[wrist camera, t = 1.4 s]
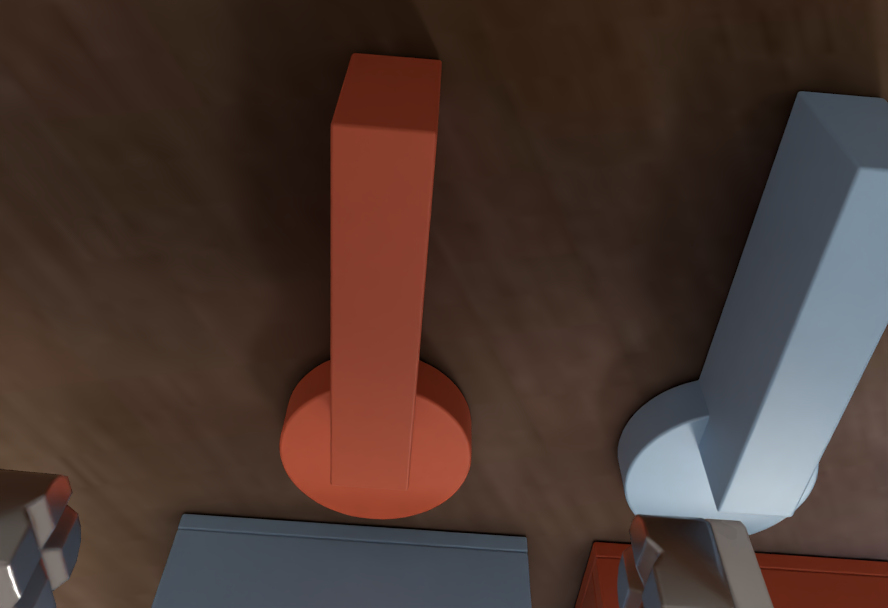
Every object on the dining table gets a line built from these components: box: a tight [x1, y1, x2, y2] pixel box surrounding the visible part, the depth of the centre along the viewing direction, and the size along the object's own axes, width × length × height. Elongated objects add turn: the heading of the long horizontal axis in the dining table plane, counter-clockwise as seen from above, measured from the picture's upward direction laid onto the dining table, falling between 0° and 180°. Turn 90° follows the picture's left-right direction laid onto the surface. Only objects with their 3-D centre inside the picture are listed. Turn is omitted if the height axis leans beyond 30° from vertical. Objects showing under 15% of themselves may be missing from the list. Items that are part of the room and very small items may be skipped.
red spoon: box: [279, 53, 471, 519], centre depth 17 cm, size 11×4×3 cm, turn 175°
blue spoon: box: [618, 91, 888, 535], centre depth 17 cm, size 11×4×3 cm, turn 175°
